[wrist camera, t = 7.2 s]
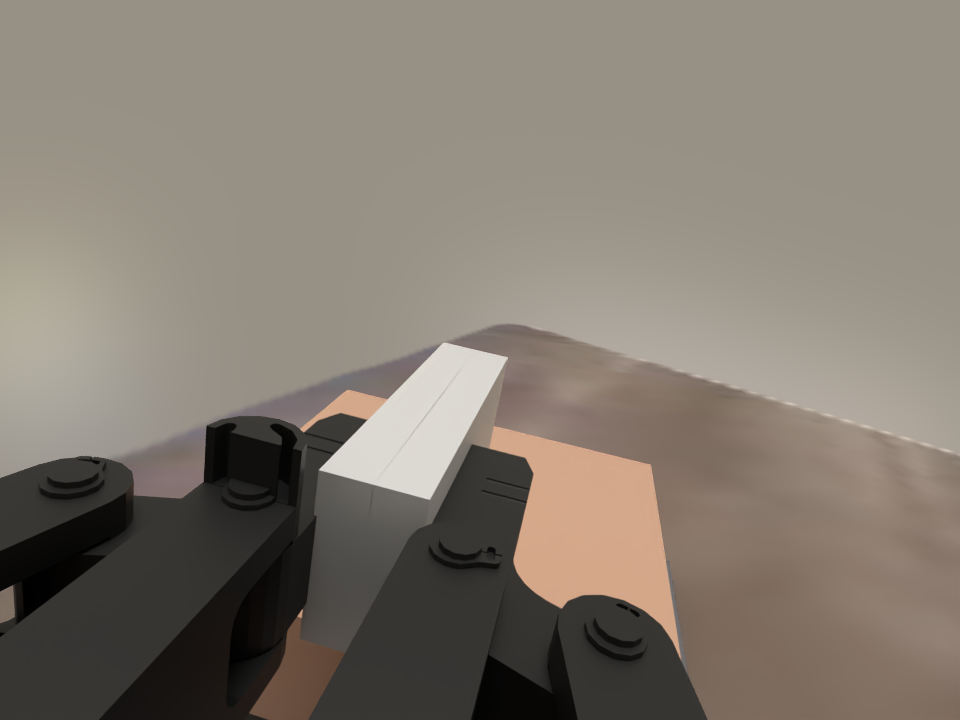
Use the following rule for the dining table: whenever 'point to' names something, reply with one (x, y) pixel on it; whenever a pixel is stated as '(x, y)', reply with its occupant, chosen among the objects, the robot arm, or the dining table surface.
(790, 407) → the dining table surface
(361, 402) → the terracotta tile
